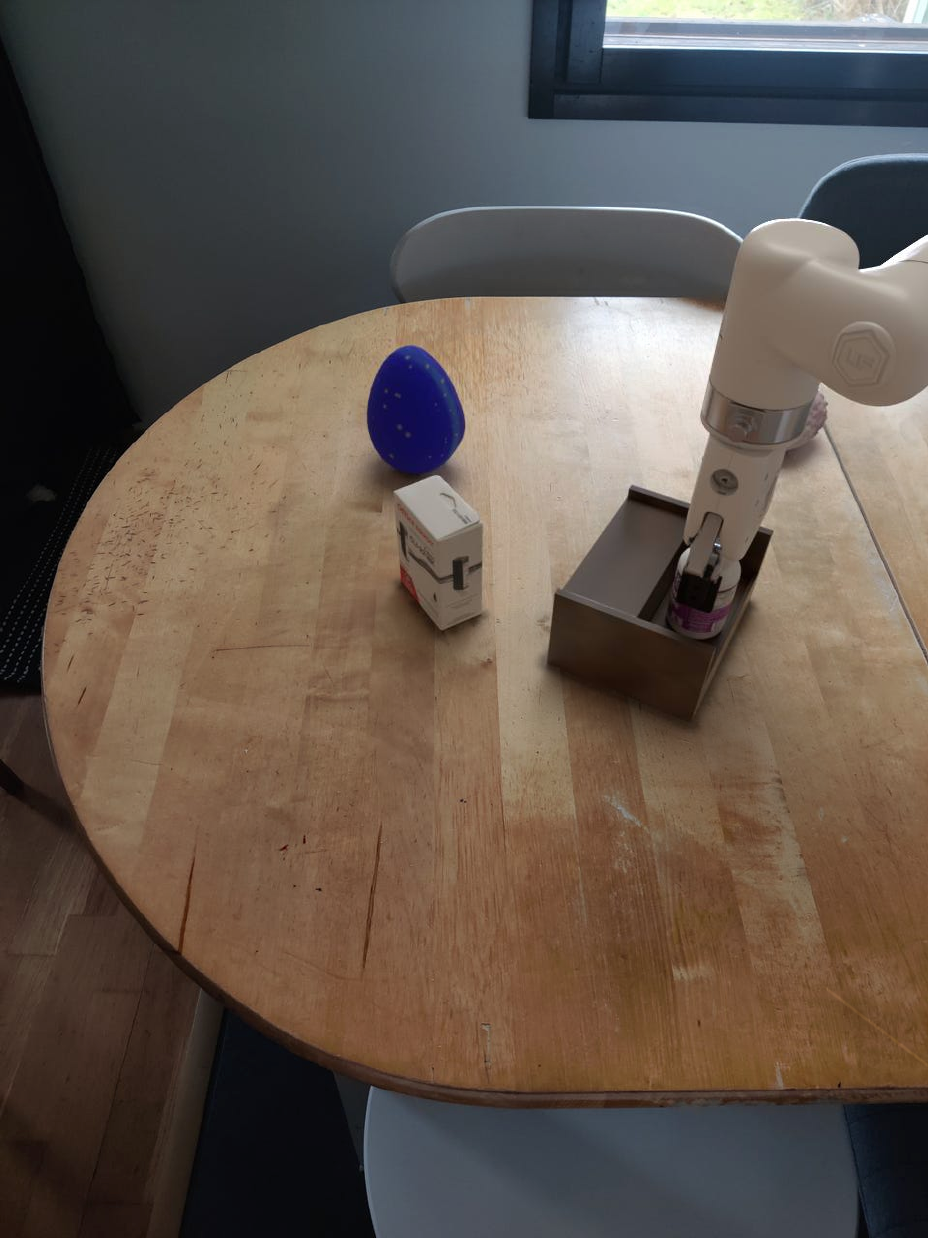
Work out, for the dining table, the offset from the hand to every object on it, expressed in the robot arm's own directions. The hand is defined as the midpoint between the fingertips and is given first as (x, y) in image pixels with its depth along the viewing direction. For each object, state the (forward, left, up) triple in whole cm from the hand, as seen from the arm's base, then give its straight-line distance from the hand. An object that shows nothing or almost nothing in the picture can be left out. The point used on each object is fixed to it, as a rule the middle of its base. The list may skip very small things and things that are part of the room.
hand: (705, 582), depth 75 cm
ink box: (+25, -1, -8) cm, 26 cm away
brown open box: (+4, -1, -8) cm, 9 cm away
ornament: (+33, -22, -8) cm, 40 cm away
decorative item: (-8, -36, -8) cm, 38 cm away
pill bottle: (0, 0, -5) cm, 5 cm away
